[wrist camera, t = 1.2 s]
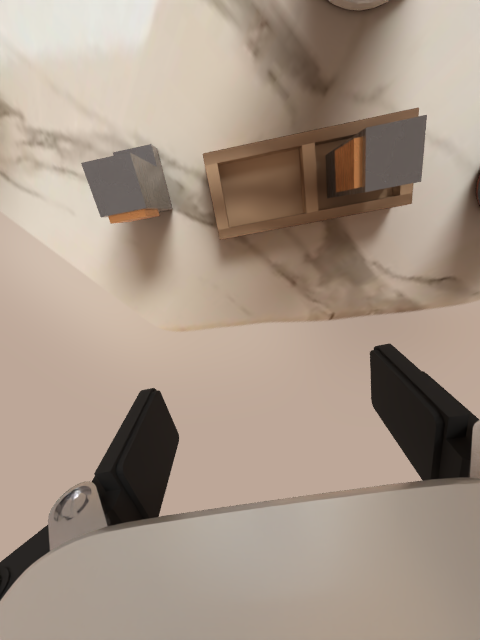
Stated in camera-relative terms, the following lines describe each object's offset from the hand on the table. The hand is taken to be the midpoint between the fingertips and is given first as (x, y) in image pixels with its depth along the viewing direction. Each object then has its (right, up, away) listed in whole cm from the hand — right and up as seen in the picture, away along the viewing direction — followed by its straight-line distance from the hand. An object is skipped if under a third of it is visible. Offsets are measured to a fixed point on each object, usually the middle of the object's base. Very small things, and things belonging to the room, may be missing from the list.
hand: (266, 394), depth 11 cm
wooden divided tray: (+6, +19, +17) cm, 26 cm away
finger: (-11, +19, +17) cm, 28 cm away
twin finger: (+11, +19, +15) cm, 26 cm away
